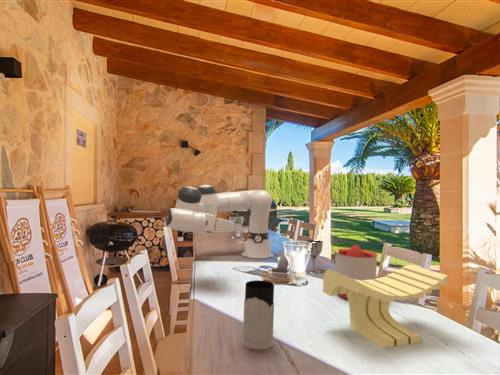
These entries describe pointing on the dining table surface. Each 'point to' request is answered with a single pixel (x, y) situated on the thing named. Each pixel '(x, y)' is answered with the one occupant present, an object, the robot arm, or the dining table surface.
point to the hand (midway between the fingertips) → (238, 229)
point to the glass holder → (258, 315)
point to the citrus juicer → (355, 264)
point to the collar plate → (276, 276)
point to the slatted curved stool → (383, 301)
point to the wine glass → (315, 253)
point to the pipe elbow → (282, 264)
